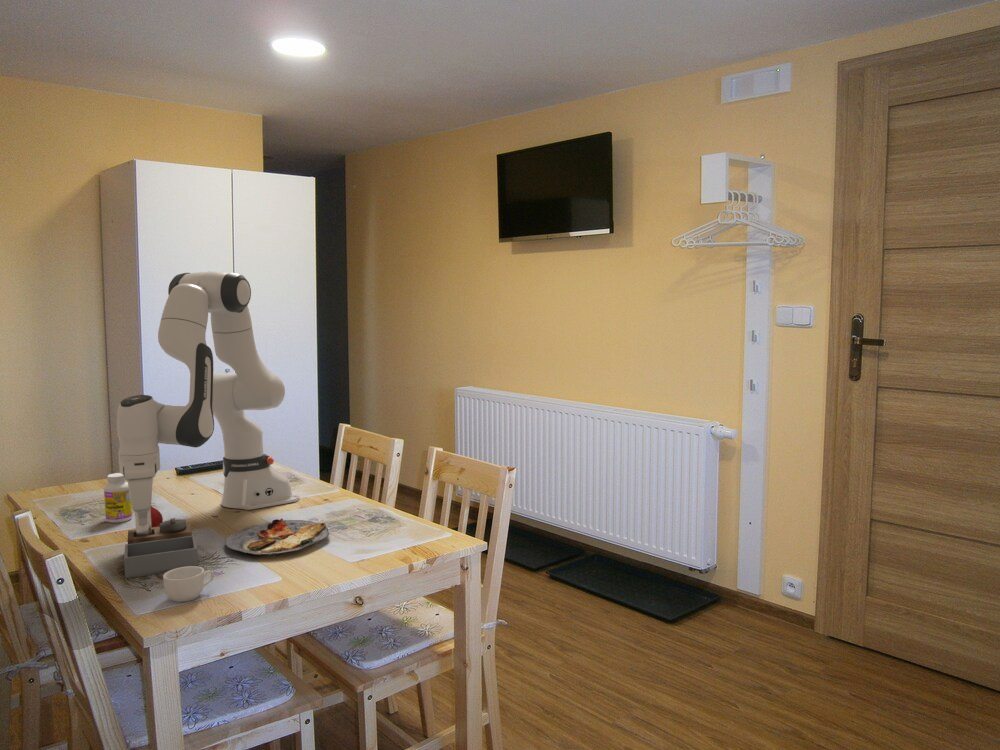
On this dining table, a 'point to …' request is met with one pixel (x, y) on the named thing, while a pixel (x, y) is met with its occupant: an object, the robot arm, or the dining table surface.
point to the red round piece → (155, 517)
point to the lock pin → (143, 529)
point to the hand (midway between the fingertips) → (143, 520)
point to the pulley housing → (163, 531)
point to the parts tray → (159, 556)
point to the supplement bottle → (117, 499)
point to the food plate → (278, 536)
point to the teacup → (185, 583)
